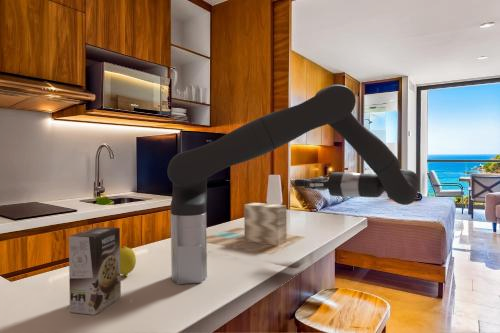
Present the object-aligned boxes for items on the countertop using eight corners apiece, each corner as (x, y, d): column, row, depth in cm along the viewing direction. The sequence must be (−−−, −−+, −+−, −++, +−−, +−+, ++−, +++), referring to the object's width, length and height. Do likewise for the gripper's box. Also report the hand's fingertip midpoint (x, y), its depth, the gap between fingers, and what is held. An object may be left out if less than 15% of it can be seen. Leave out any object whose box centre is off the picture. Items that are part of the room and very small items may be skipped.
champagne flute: (274, 234, 135) (274, 175, 134) (263, 231, 140) (263, 175, 139) (285, 232, 139) (285, 175, 139) (274, 229, 144) (274, 174, 144)
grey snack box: (96, 315, 67) (94, 236, 66) (68, 312, 68) (66, 235, 68) (122, 296, 76) (121, 227, 75) (97, 294, 77) (96, 226, 77)
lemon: (123, 281, 86) (122, 250, 85) (109, 277, 88) (109, 247, 88) (140, 274, 90) (139, 245, 90) (127, 270, 93) (126, 242, 93)
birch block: (286, 241, 118) (286, 205, 117) (278, 245, 113) (278, 207, 112) (253, 236, 126) (253, 202, 125) (244, 240, 121) (244, 204, 120)
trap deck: (306, 241, 124) (306, 237, 124) (271, 259, 103) (271, 254, 103) (237, 230, 142) (237, 227, 142) (195, 244, 121) (195, 240, 121)
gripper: (352, 171, 108) (303, 170, 117) (339, 173, 97) (286, 172, 106) (352, 194, 108) (303, 191, 117) (339, 199, 97) (286, 195, 106)
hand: (295, 182), depth 112 cm, fingers closed
